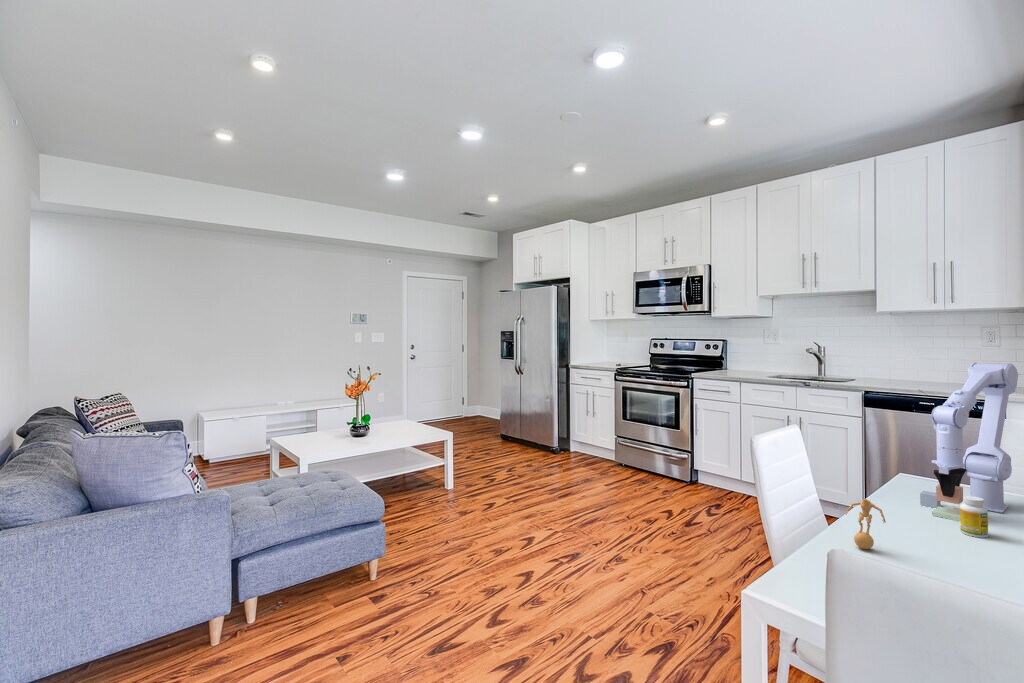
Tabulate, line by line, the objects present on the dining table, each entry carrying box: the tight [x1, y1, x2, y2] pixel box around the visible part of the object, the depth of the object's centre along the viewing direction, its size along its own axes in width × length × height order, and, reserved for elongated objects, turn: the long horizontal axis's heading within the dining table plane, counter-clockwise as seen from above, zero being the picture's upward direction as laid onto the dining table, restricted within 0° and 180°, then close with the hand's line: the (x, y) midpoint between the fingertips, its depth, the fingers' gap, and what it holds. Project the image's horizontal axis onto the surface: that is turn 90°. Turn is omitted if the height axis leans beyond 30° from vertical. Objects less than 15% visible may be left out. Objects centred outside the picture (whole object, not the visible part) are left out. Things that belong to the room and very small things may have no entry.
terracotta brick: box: [935, 483, 964, 505], centre depth 142 cm, size 5×5×4 cm
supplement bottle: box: [959, 495, 989, 539], centre depth 129 cm, size 5×5×10 cm
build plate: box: [931, 506, 960, 522], centre depth 142 cm, size 7×7×1 cm
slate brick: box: [919, 490, 942, 509], centre depth 151 cm, size 4×4×4 cm
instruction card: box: [944, 505, 960, 510], centre depth 146 cm, size 6×6×1 cm
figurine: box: [845, 498, 886, 550], centre depth 122 cm, size 8×6×12 cm
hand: (950, 494), depth 142 cm, fingers closed on terracotta brick, 5 cm apart
